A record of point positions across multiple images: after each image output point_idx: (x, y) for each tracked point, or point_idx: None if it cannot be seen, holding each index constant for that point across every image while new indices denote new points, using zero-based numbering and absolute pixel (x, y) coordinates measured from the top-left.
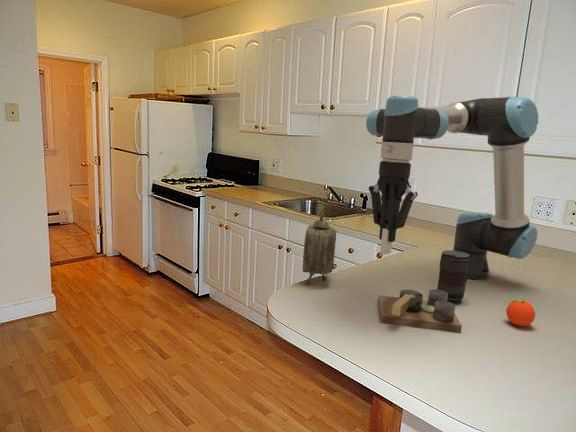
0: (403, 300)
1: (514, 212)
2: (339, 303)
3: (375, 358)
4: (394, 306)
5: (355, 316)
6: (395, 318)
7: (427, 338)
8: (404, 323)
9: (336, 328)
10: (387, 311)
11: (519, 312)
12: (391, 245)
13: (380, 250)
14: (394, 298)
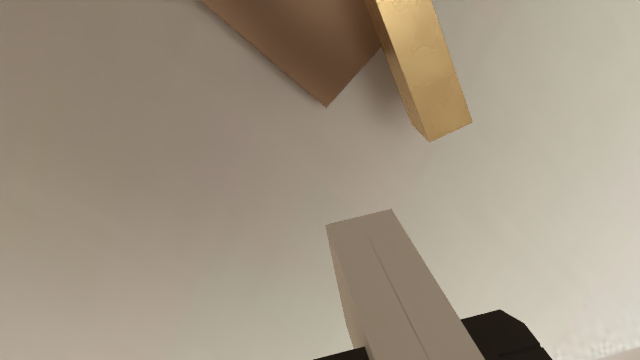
0: (416, 26)
1: None
2: (17, 141)
3: (519, 315)
4: (436, 135)
5: (205, 166)
6: (375, 49)
7: (542, 6)
8: None
9: (276, 315)
10: (298, 34)
11: None
12: (420, 259)
13: (353, 342)
14: None
